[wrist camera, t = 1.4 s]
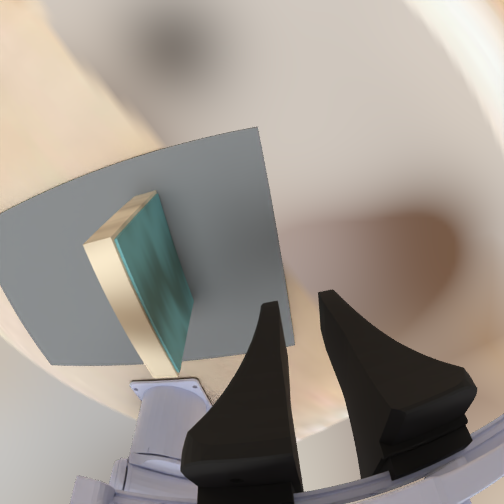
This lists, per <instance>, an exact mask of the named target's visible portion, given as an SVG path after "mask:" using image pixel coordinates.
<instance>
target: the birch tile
mask: <svg viewBox="0 0 504 504" xmlns="http://www.w3.org/2000/svg"><path fill="white" fill-rule="evenodd" d="M83 247H84V249H85V251H86V254H87V256H88V258H89V261H90V263H91V265H92V267H93V269H94V272H95V274H96V276H97V278H98V280H99V282H100V284H101V286H102V289H103V291H104V293H105V295H106V297H107V299H108V301H109V303H110V304H111V306H112V308H113V310H114V312H115V314H116V316H117V318H118V320H119V321H120V323H121V325H122V327H123V329H124V330H125V332H126V334H127V336H128V337H129V339H130V341H131V343H132V344H133V346H134V348H135V349H136V351H137V353H138V354H139V356H140V358H141V359H142V361H143V362H144V364H145V366H146V367H147V369H148V370H149V372H150V373H151V375H152V376H153V378H172V377H178V375H179V372H180V368H181V363H182V357H183V352H184V347H185V342H186V337H187V332H188V327H189V322H190V317H191V312H192V308H193V303H194V300H193V297H192V294H191V292H190V289H189V286H188V283H187V281H186V278H185V275H184V272H183V269H182V266H181V264H180V261H179V258H178V255H177V252H176V249H175V246H174V243H173V240H172V237H171V234H170V231H169V227H168V224H167V221H166V218H165V215H164V211H163V208H162V205H161V202H160V198H159V195H158V194H157V192H156V190H155V191H151V192H148V193H144V194H141V195H137V196H134V197H133V198H132V199H131V200H130V201H129V202H127V203H126V204H125V205H124V206H123V207H122V208H121V209H120V210H118V211H117V212H116V213H115V214H114V215H113V216H112V217H111V218H110V219H109V220H108V221H107V222H105V223H104V224H103V225H102V226H101V227H100V228H99V229H98V230H97V231H96V232H95V233H94V234H93V235H92V236H91V237H90V238H89V239H88V240H87V241H86V242H85V243H84V244H83Z"/></svg>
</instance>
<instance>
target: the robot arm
mask: <svg viewBox="0 0 504 504" xmlns="http://www.w3.org/2000/svg"><path fill="white" fill-rule="evenodd" d="M318 298H319V311H320V326H321V332H322V336H323V340H324V344H325V348H326V351H327V353H328V356H329V358H330V361H331V364H332V366H333V369H334V371H335V374H336V376H337V379H338V382H339V384H340V387H341V389H342V392H343V395H344V398H345V402H346V406H347V410H348V414H349V418H350V423H351V427H352V431H353V436H354V441H355V446H356V451H357V457H358V463H359V469H360V475H361V479H360V480H357V481H353V482H349V483H345V484H341V485H337V486H332V487H328V488H323V489H318V490H313V491H307V492H304V491H303V484H302V477H301V471H300V464H299V458H298V451H297V444H296V437H295V431H294V424H293V418H292V411H291V401H290V383H289V366H288V355H287V349H286V343H285V337H284V332H283V326H282V320H281V315H280V309H279V304H278V300H277V301H272V302H267V303H263V304H262V305H261V309H260V315H259V319H258V323H257V326H256V329H255V332H254V335H253V338H252V341H251V343H250V346H249V348H248V350H247V353H246V355H245V357H244V359H243V361H242V363H241V365H240V367H239V369H238V371H237V372H236V374H235V376H234V377H233V379H232V380H231V382H230V383H229V385H228V387H227V388H226V389H225V391H224V392H223V394H222V395H221V396H220V397H219V399H218V400H217V401H216V402H215V404H214V405H213V406H212V405H211V403H210V401H209V399H208V398H207V396H206V394H205V392H204V391H203V389H202V387H201V385H200V383H199V381H198V380H197V379H193V378H192V379H179V380H162V381H134V382H130V387H131V388H132V390H133V391H134V392H135V394H136V395H137V396H138V397H139V399H140V400H141V401H142V403H141V407H140V411H139V415H138V419H137V424H136V428H135V433H134V437H133V441H132V445H131V451H130V455H129V457H128V459H125V458H120V459H118V460H116V461H115V462H114V465H113V470H112V473H111V478H110V482H109V484H107V483H105V482H102V481H99V480H96V479H91V478H87V477H84V476H80V475H79V476H77V477H76V481H75V485H74V489H73V493H72V497H71V501H70V504H346V503H350V502H354V501H358V500H361V499H365V498H368V497H371V496H375V495H378V494H381V493H384V492H387V491H390V490H393V489H395V488H398V487H401V486H403V485H406V484H409V483H411V482H414V481H416V480H418V479H421V478H423V477H425V476H426V477H425V478H424V480H422V481H419V482H417V483H414V484H412V485H409V486H407V487H404V488H401V489H399V490H396V491H393V492H390V493H388V494H385V495H381V496H379V497H375V498H372V499H369V500H366V501H362V502H358V503H355V504H471V501H470V498H471V497H473V496H474V495H476V494H478V493H479V492H481V491H482V490H484V489H486V488H487V487H489V486H490V485H491V484H493V483H495V482H496V481H497V480H499V479H500V478H501V477H503V476H504V414H502V415H501V416H499V417H498V418H496V419H495V420H493V421H491V422H490V423H488V424H487V425H485V426H483V427H482V428H480V429H478V430H477V431H475V432H473V433H471V434H470V433H469V431H468V429H467V427H466V424H467V423H468V420H467V418H466V416H465V412H466V411H467V409H468V408H469V406H470V405H471V403H472V402H473V400H474V398H475V396H476V394H477V387H476V386H475V384H474V382H473V380H472V379H471V377H470V375H469V374H468V373H467V372H466V370H465V369H464V368H463V367H459V366H456V365H452V364H448V363H445V362H442V361H439V360H436V359H433V358H431V357H428V356H425V355H423V354H421V353H419V352H416V351H414V350H412V349H410V348H408V347H406V346H404V345H402V344H401V343H399V342H397V341H395V340H394V339H392V338H390V337H389V336H387V335H386V334H384V333H383V332H382V331H380V330H379V329H377V328H376V327H375V326H373V325H372V324H371V323H369V322H368V321H367V320H366V319H365V318H363V317H362V316H361V315H360V314H359V313H357V312H356V311H355V310H354V309H353V308H352V307H351V306H350V305H349V304H347V303H346V302H345V301H344V300H343V299H342V298H341V297H340V296H339V295H338V294H337V293H336V292H335V291H334V290H328V291H323V292H318Z"/></svg>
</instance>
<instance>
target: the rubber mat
mask: <svg viewBox="0 0 504 504" xmlns="http://www.w3.org/2000/svg"><path fill="white" fill-rule="evenodd" d="M155 190H156V192H157V194H158V195H159V198H160V202H161V205H162V208H163V211H164V215H165V218H166V221H167V224H168V227H169V231H170V234H171V237H172V240H173V243H174V246H175V249H176V252H177V255H178V258H179V261H180V264H181V266H182V269H183V272H184V275H185V278H186V281H187V283H188V286H189V289H190V292H191V294H192V297H193V300H194V303H193V308H192V312H191V317H190V322H189V327H188V332H187V337H186V342H185V347H184V352H183V357H182V361H189V360H199V359H208V358H216V357H224V356H232V355H239V354H246V353H247V350H248V348H249V346H250V343H251V341H252V338H253V335H254V332H255V329H256V326H257V323H258V319H259V315H260V309H261V305H262V304H263V303H267V302H272V301H277V300H278V304H279V309H280V315H281V320H282V326H283V332H284V337H285V343H286V347H288V346H293V345H295V342H294V335H293V328H292V322H291V315H290V308H289V302H288V295H287V289H286V283H285V276H284V270H283V264H282V258H281V252H280V247H279V240H278V234H277V228H276V223H275V217H274V211H273V206H272V200H271V195H270V189H269V184H268V178H267V173H266V168H265V162H264V157H263V152H262V147H261V142H260V137H259V131H258V128H257V127H253V128H248V129H243V130H238V131H233V132H228V133H223V134H219V135H215V136H210V137H206V138H202V139H198V140H194V141H190V142H186V143H182V144H178V145H175V146H171V147H167V148H164V149H160V150H157V151H154V152H150V153H147V154H144V155H140V156H137V157H134V158H131V159H128V160H125V161H122V162H119V163H116V164H113V165H110V166H108V167H105V168H102V169H99V170H97V171H94V172H91V173H89V174H86V175H84V176H81V177H78V178H76V179H73V180H71V181H69V182H66V183H64V184H61V185H59V186H57V187H54V188H52V189H50V190H48V191H45V192H43V193H41V194H39V195H37V196H35V197H32V198H30V199H28V200H26V201H24V202H22V203H20V204H18V205H16V206H14V207H12V208H10V209H8V210H6V211H4V212H2V213H1V214H0V285H1V287H2V289H3V291H4V293H5V295H6V297H7V298H8V300H9V302H10V304H11V305H12V307H13V309H14V311H15V312H16V314H17V316H18V317H19V319H20V320H21V322H22V324H23V325H24V327H25V328H26V330H27V331H28V333H29V334H30V336H31V337H32V339H33V340H34V342H35V343H36V345H37V346H38V348H39V349H40V350H41V352H42V353H43V355H44V356H45V357H46V359H47V360H48V361H49V363H50V364H51V365H63V366H109V365H136V364H144V362H143V361H142V359H141V358H140V356H139V354H138V353H137V351H136V349H135V348H134V346H133V344H132V343H131V341H130V339H129V337H128V336H127V334H126V332H125V330H124V329H123V327H122V325H121V323H120V321H119V320H118V318H117V316H116V314H115V312H114V310H113V308H112V306H111V304H110V303H109V301H108V299H107V297H106V295H105V293H104V291H103V289H102V286H101V284H100V282H99V280H98V278H97V276H96V274H95V272H94V269H93V267H92V265H91V263H90V261H89V258H88V256H87V254H86V251H85V249H84V247H83V244H84V243H85V242H86V241H87V240H88V239H89V238H90V237H91V236H92V235H93V234H94V233H95V232H96V231H97V230H98V229H99V228H100V227H101V226H102V225H103V224H104V223H105V222H107V221H108V220H109V219H110V218H111V217H112V216H113V215H114V214H115V213H116V212H117V211H118V210H120V209H121V208H122V207H123V206H124V205H125V204H126V203H127V202H129V201H130V200H131V199H132V198H133V197H134V196H137V195H141V194H144V193H148V192H151V191H155Z"/></svg>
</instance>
